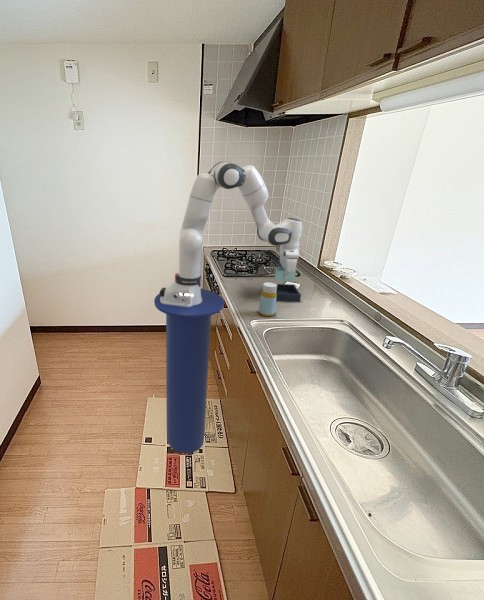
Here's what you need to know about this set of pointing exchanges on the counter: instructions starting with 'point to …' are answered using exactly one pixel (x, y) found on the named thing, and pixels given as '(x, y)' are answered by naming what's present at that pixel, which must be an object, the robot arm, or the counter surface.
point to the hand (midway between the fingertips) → (284, 275)
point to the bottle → (268, 299)
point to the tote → (287, 293)
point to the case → (280, 275)
